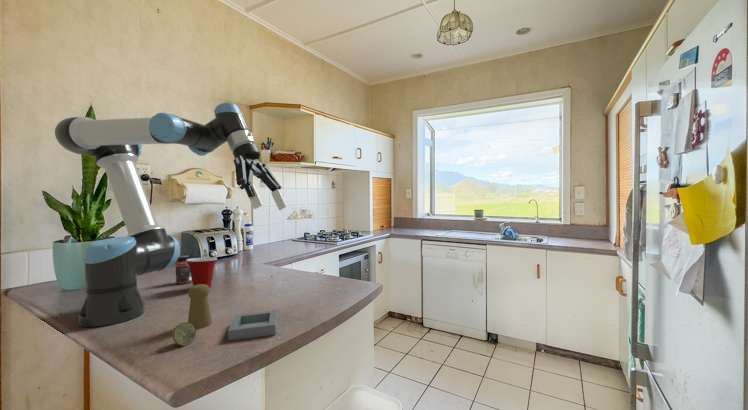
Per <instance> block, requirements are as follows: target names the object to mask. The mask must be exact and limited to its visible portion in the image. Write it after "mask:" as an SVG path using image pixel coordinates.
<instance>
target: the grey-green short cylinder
mask: <svg viewBox="0 0 748 410" xmlns="http://www.w3.org/2000/svg"><path fill="white" fill-rule="evenodd" d="M196 330H197V329H195V327H194V326H193V325H192V324H190V323H188V321H187V322H186V321H185V322H180V323H179V324H178V325H176V326H175V327H174V328H173V330H172V333H171V338H172V340H173V342H174V344H177V345H178V346H182V347H183V346H187V345H189V344H190V343H191V342H193V340H194V338H196V334H197V331H196Z"/></svg>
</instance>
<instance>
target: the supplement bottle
mask: <svg viewBox="0 0 748 410" xmlns="http://www.w3.org/2000/svg"><path fill="white" fill-rule="evenodd" d="M187 259H190V256H189V255H179V257H178V258H177V261H176V262H175V283H176V284H177V285H185V284H189V283H193V282H192V278H191V274H190V269H189V265H188V262H187V261H186V260H187Z"/></svg>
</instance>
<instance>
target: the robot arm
mask: <svg viewBox="0 0 748 410" xmlns="http://www.w3.org/2000/svg"><path fill="white" fill-rule="evenodd" d="M213 113H214V116H215V117H214V118H213V119H211V120H210V121H208V123H206V124H202V123H199V122H195V121H192V120H190V119H186V118H183V117H180V116H178V115H176V114H171V113H167V112H158V113H156V114H155V115H153V116H151V117H135V118H134V117H133V118H131V117H130V118H112V119H111V118H110V119H108V118H107V119H94V118H91V117H88V116H74V117H68V118H63V119H62V120H61V121H59V122H58V123H57V124H56V125H55V128H54V136H55V139H56V140H57V142H58V144H60V146H61V147H63V148H64V149H65V150H67V151H69V152H71V153H74V154H76V155H81V156H82V155H83V156H88V157H93V158H94V161H95V163H96V165H97V167H99V168H101V169H103V170H105V173H106V176H107V178H108V181H109V184H110V187H111V190H112V194H113V195H114V199H115V201H116V203H117V204H116V205H117V206H118V209H119V212H120V214H121V217H122V220H123V223H124V226H125V229H126V231H127V234H126V236H119V237H118V236H117V237H113V238H104V239H101V240H97V241H94V242H91V243H89V244H88V245H87V246H86V247H85V249H84V259H83V262H84V270H85V271H84V274H85V298H84V301H83V303H82V306H81V309H80V311H79V314H78V318H77V319H78V325H79V326H80V327H84V328H87V327H88V328H90V327H91V328H93V327H103V326H110V325H115V324H118V323H123V322H126V321H129V320H132V319H135V318H137V317H140V316H141V315H143V314H144V313H145V312H146V309H145V306H146V305H145V302H144V300H143V298H142V296H141V294H140V292H139V290H138V284H137V283H138V282H137V281H138V279H137V277H138V276H143V275H147V274H150V273H154V272H161V271H162V270H165V269H167V268H168V269H169V268H170V267H173V265H174V264H176V262H178V257H179V256H180V253H181V248H180V246H181V245H180V243H179V241H178V239H177V238H176V237H173V236H172V235H171V234H170V235H169V234H167V231H166V227H164V226H161V225H159V224H158V222H157V219H156V217H155V214H154V211H153V208H152V205H151V203H150V200H149V197H148V194H147V192H146V189H145V187H144V185H143V182H142V179H141V176H140V174H139V171H138V168H137V166H136V164H137V163H138V162H139V157H140V156H141V153H142V151H141V150H142V145H160V144H161V145H167V144H173V145H174V144H176V145H183V146H187V147H188V149H189V150H190V151H191V152H193V153H194V154H196V155H197V156H200V157H203V156H206V155H208V154H210V153H212V152H214V151H215V150H216V149H218V148H219V147H221V146H222V145H223V144H225V143H227V144H228V145H229V148H230V151H231V152H232V155H233V157H234V159H233V164H234V166H235V167H234V168H235V180H236V185H238V187H239V189H241V190H245V193H246V195H247V197H248V199H249V201H250V203H251V205H252V207H253V210H257V209H258V208H260V207H262V206H263V205H264V204H263V201H262V199H261V197H260V195H259V193H258V190H257V188H256V186H255V184H253V177H254V176H255V177H256V178H257V179H260V180H261V181H262V183H263V184H265V186H266V187H267V188H268V189H269V190H270V194H271V196H272V198H273V200H274V203H275V204H276V207H277V208H278V210H279V211H282V210H284V209H285V208H287V204H286V201H285V199H284V197H283V195H282V193H281V191H280V190H281V189H282V188H283V187H282V186H281V184H280V183H279V181H278V180H277V179H276V177H275V176H274V174H273V173H272V172H271V170H270V169H269V166H268V165H267V164H266V163H265V162H264V163H261V161H260V157H261V152H260V150H259V148H258V146H257V144H256V141H255V139H254V137H253V133H252V132H251V131H250V129H249V127H248V124H247V122H246V120H245V118H244V115H243V113H242V111H241V110H240V108H239V106H238V105H237V104H235V103H233V102H229V101H228V102H222V103H219V104H217V105H216V106H215V108H214V112H213Z"/></svg>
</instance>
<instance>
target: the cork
mask: <svg viewBox="0 0 748 410" xmlns="http://www.w3.org/2000/svg"><path fill="white" fill-rule="evenodd" d="M210 290H211V288H209V286H208V285H206V284H199V285H194V286H193V285H192V286H190V287H189V289H188V291H187V294H188V297H189V299H190V300H189V301H190V302H189V311H188V319H187V322H188V323H190V324H192V325H193V326H194V327H195V330H200V329H205V328H207V327H209V326H211V325H212V324H213V319H212V314H211V308H210V302H209V297H208V296H209V295H210V292H211V291H210Z"/></svg>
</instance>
